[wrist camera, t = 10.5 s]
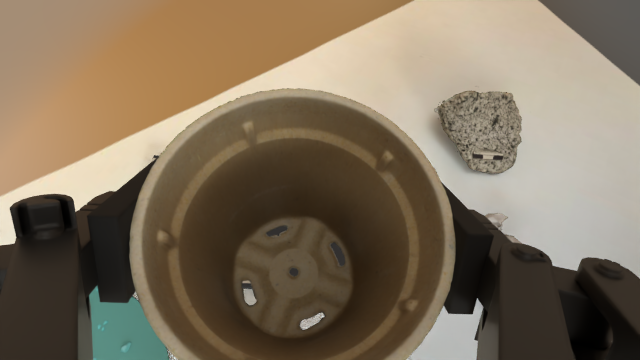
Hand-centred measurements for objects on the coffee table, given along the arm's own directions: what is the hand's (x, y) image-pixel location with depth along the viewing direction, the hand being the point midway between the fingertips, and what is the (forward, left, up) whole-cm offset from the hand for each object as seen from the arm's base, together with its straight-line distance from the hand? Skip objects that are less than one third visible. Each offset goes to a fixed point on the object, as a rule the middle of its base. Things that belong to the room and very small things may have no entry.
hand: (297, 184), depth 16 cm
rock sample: (-20, -15, -19) cm, 32 cm away
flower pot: (0, +3, -4) cm, 5 cm away
